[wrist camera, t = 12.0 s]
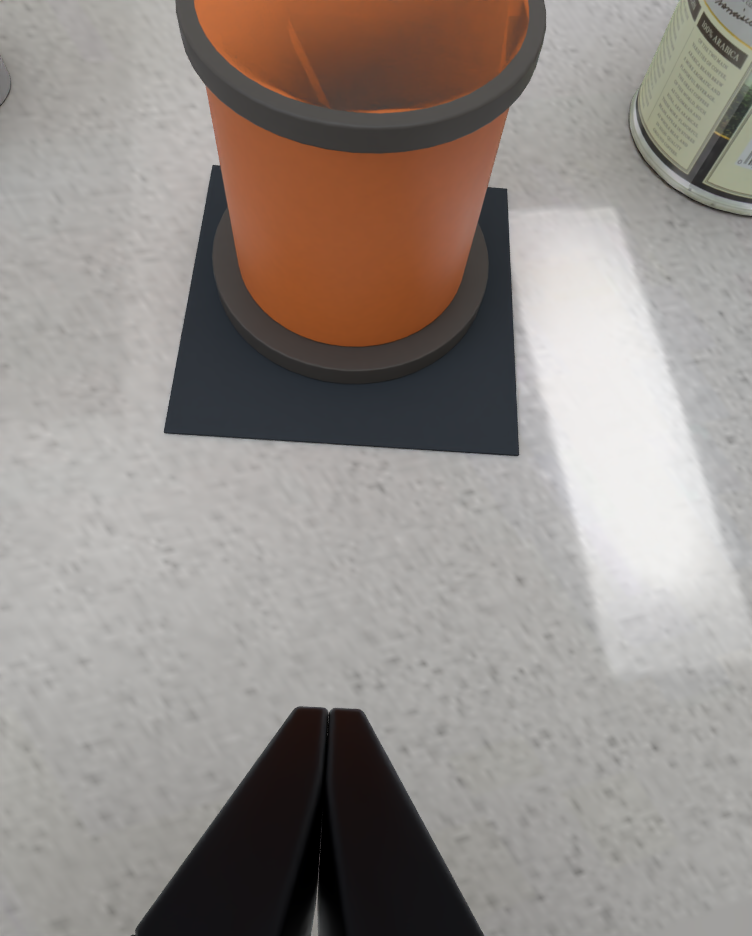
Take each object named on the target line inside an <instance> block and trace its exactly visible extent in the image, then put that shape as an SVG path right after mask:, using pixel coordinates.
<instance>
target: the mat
mask: <svg viewBox="0 0 752 936" xmlns="http://www.w3.org/2000/svg"><path fill="white" fill-rule="evenodd" d="M227 207H228V204H227V199H226V193H225V188H224V182H223V177H222V171H221V166H218V165H213V166H212V171H211V177H210V182H209V188H208V193H207V199H206V204H205V210H204V215H203V221H202V226H201V231H200V237H199V242H198V248H197V253H196V259H195V264H194V270H193V275H192V281H191V286H190V292H189V297H188V303H187V308H186V314H185V319H184V324H183V330H182V335H181V341H180V346H179V352H178V357H177V363H176V368H175V374H174V379H173V385H172V390H171V396H170V401H169V406H168V412H167V417H166V423H165V428H164V433H172V434H188V435H204V436H219V437H235V438H250V439H266V440H281V441H297V442H312V443H328V444H343V445H359V446H374V447H390V448H406V449H421V450H437V451H452V452H468V453H483V454H499V455H514V456H518V455H519V445H518V422H517V400H516V378H515V356H514V334H513V311H512V289H511V267H510V245H509V223H508V200H507V189H503V188H491V187H487V190H486V194H485V197H484V201H483V205H482V208H481V212H480V216H479V219H478V224H479V226H480V228H481V231H482V233H483V236H484V239H485V243H486V247H487V252H488V261H489V267H488V279H487V284H486V289H485V293H484V296H483V299H482V302H481V305H480V307H479V310H478V312H477V315H476V317H475V319H474V321H473V323H472V325H471V326H470V328H469V330H468V331H467V333H466V334H465V335H464V336H463V337H462V339H461V340H460V341H459V342H458V343H457V344H456V345H455V346H454V347H453V348H452V349H451V350H450V351H449V352H448V353H447V354H445V355H444V356H442V357H441V358H439V359H438V360H437V361H435V362H434V363H432V364H430V365H428V366H426V367H424V368H423V369H421V370H419V371H417V372H414V373H411V374H408V375H406V376H403V377H400V378H396V379H392V380H387V381H383V382H376V383H366V384H342V383H334V382H326V381H321V380H317V379H313V378H309V377H306V376H303V375H300V374H297V373H295V372H292V371H289V370H287V369H285V368H283V367H282V366H280V365H278V364H276V363H274V362H272V361H271V360H269V359H268V358H266V357H265V356H263V355H262V354H260V353H259V352H258V351H257V350H255V349H254V348H253V347H252V346H251V345H250V344H249V343H248V342H247V341H245V339H244V338H243V337H242V336H241V335H240V334H239V332H238V331H237V330H236V329H235V327H234V326H233V324H232V323H231V321H230V319H229V318H228V316H227V315H226V312H225V310H224V308H223V305H222V303H221V301H220V297H219V293H218V289H217V285H216V281H215V277H214V272H213V261H212V253H213V242H214V238H215V234H216V230H217V227H218V225H219V223H220V220H221V218H222V216H223V214H224V212H225V210H226V209H227Z"/></svg>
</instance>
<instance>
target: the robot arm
mask: <svg viewBox="0 0 752 936" xmlns="http://www.w3.org/2000/svg"><path fill="white" fill-rule="evenodd" d="M328 716H329V721H328ZM327 733H328V735H327ZM321 827H322V829H321ZM320 842H321V846H320ZM319 857H320V862H319ZM318 872H319V879H318ZM317 886H318V936H484V934H483V932H482V931H481V929H480V927H479V925H478V923H477V921H476V919H475V918H474V916H473V914H472V912H471V910H470V908H469V906H468V905H467V903H466V901H465V899H464V897H463V895H462V893H461V892H460V890H459V888H458V886H457V884H456V882H455V880H454V879H453V877H452V875H451V873H450V871H449V869H448V867H447V866H446V864H445V862H444V860H443V858H442V856H441V854H440V853H439V851H438V849H437V847H436V845H435V843H434V841H433V840H432V838H431V836H430V834H429V832H428V830H427V829H426V827H425V825H424V823H423V821H422V819H421V817H420V816H419V814H418V812H417V810H416V808H415V806H414V804H413V803H412V801H411V799H410V797H409V795H408V793H407V791H406V790H405V788H404V786H403V784H402V782H401V780H400V778H399V777H398V775H397V773H396V771H395V769H394V767H393V765H392V764H391V762H390V760H389V758H388V756H387V754H386V752H385V751H384V749H383V747H382V745H381V743H380V741H379V739H378V738H377V736H376V734H375V732H374V730H373V728H372V726H371V725H370V723H369V721H368V719H367V717H366V715H365V714H364V712H363V711H361V710H359V709H345V708H333V709H332V710H331V711H330V712H329V714H328V710H327V709H326V708H323V707H303V706H300V707H297V708H295V709H294V710H293V711H292V712H291V714H290V715H289V717H288V718H287V719H286V721H285V722H284V724H283V725H282V726H281V728H280V729H279V730H278V732H277V733H276V735H275V736H274V737H273V739H272V740H271V742H270V743H269V744H268V746H267V747H266V748H265V750H264V751H263V753H262V754H261V755H260V757H259V758H258V760H257V761H256V762H255V764H254V765H253V766H252V768H251V769H250V771H249V772H248V773H247V775H246V776H245V778H244V779H243V780H242V782H241V783H240V785H239V786H238V787H237V789H236V790H235V791H234V793H233V794H232V796H231V797H230V798H229V800H228V801H227V803H226V804H225V805H224V807H223V808H222V809H221V811H220V812H219V814H218V815H217V816H216V818H215V819H214V821H213V822H212V823H211V825H210V826H209V827H208V829H207V830H206V832H205V833H204V834H203V836H202V837H201V839H200V840H199V841H198V843H197V844H196V846H195V847H194V848H193V850H192V851H191V852H190V854H189V855H188V857H187V858H186V859H185V861H184V862H183V864H182V865H181V866H180V868H179V869H178V870H177V872H176V873H175V875H174V876H173V877H172V879H171V880H170V882H169V883H168V884H167V886H166V887H165V888H164V890H163V891H162V893H161V894H160V895H159V897H158V898H157V900H156V901H155V902H154V904H153V905H152V907H151V908H150V909H149V911H148V912H147V913H146V915H145V916H144V918H143V919H142V920H141V922H140V923H139V925H138V926H137V927H136V930H135V935H131V936H311V931H312V925H313V919H314V912H315V906H316V896H317Z"/></svg>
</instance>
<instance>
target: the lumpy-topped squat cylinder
mask: <svg viewBox="0 0 752 936" xmlns="http://www.w3.org/2000/svg"><path fill="white" fill-rule="evenodd" d="M10 85H11V81H10V76H9V73H8V71H7V68H6V66H5V64H4V62H3V60H2V58H1V56H0V105H1V103H2V102H3V101H4V100H5V98H6V97H7V95H8V93H9V90H10Z"/></svg>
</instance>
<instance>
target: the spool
mask: <svg viewBox="0 0 752 936" xmlns="http://www.w3.org/2000/svg"><path fill="white" fill-rule="evenodd" d="M175 1H176V13H177V18H178V23H179V28H180V33H181V37H182V41H183V45H184V48H185V52H186V54H187V56H188V58H189V60H190V62H191V64H192V66H193V68H194V70H195V71H196V73H197V74H198V75H199V77H200V78H201V80H202V81H203V82H204V84H205V85H206V89H207V95H208V100H209V106H210V111H211V117H212V122H213V128H214V133H215V139H216V144H217V150H218V155H219V161H220V166H221V171H222V177H223V182H224V188H225V193H226V199H227V204H228V207H227V209H226V210H225V212H224V214H223V216H222V218H221V220H220V223H219V225H218V227H217V230H216V234H215V238H214V242H213V253H212V261H213V272H214V277H215V281H216V285H217V289H218V293H219V297H220V301H221V303H222V305H223V308H224V310H225V312H226V315H227V316H228V318H229V319H230V321H231V323H232V324H233V326H234V327H235V329H236V330H237V331H238V332H239V334H240V335H241V336H242V337H243V338H244V339H245V341H247V342H248V343H249V344H250V345H251V346H252V347H253V348H254V349H255V350H257V351H258V352H259V353H260V354H262V355H263V356H265V357H266V358H268V359H269V360H271V361H272V362H274V363H276V364H278V365H280V366H282V367H283V368H285V369H287V370H289V371H292V372H295V373H297V374H300V375H303V376H306V377H309V378H313V379H317V380H321V381H326V382H334V383H342V384H366V383H376V382H383V381H387V380H392V379H396V378H400V377H403V376H406V375H408V374H411V373H414V372H417V371H419V370H421V369H423V368H424V367H426V366H428V365H430V364H432V363H434V362H435V361H437V360H438V359H439V358H441V357H442V356H444V355H445V354H447V353H448V352H449V351H450V350H451V349H452V348H453V347H454V346H455V345H456V344H457V343H458V342H459V341H460V340H461V339H462V337H463V336H464V335H465V334H466V333H467V331H468V330H469V328H470V326H471V325H472V323H473V321H474V319H475V317H476V315H477V312H478V310H479V307H480V305H481V302H482V299H483V296H484V293H485V289H486V284H487V279H488V267H489V261H488V252H487V247H486V243H485V239H484V236H483V233H482V231H481V228H480V226H479V224H478V219H479V216H480V212H481V208H482V205H483V201H484V197H485V194H486V190H487V187H488V183H489V179H490V176H491V172H492V168H493V165H494V161H495V158H496V154H497V150H498V147H499V143H500V139H501V136H502V132H503V129H504V125H505V121H506V118H507V114H508V110H509V107H510V106H511V105H512V104H513V103H514V102H515V101H516V100H517V99H518V97H519V96H520V95H521V94H522V92H523V91H524V89H525V88H526V86H527V85H528V83H529V82H530V79H531V77H532V75H533V72H534V70H535V68H536V65H537V62H538V58H539V55H540V51H541V48H542V45H543V40H544V35H545V31H546V9H545V4H544V0H175Z"/></svg>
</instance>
